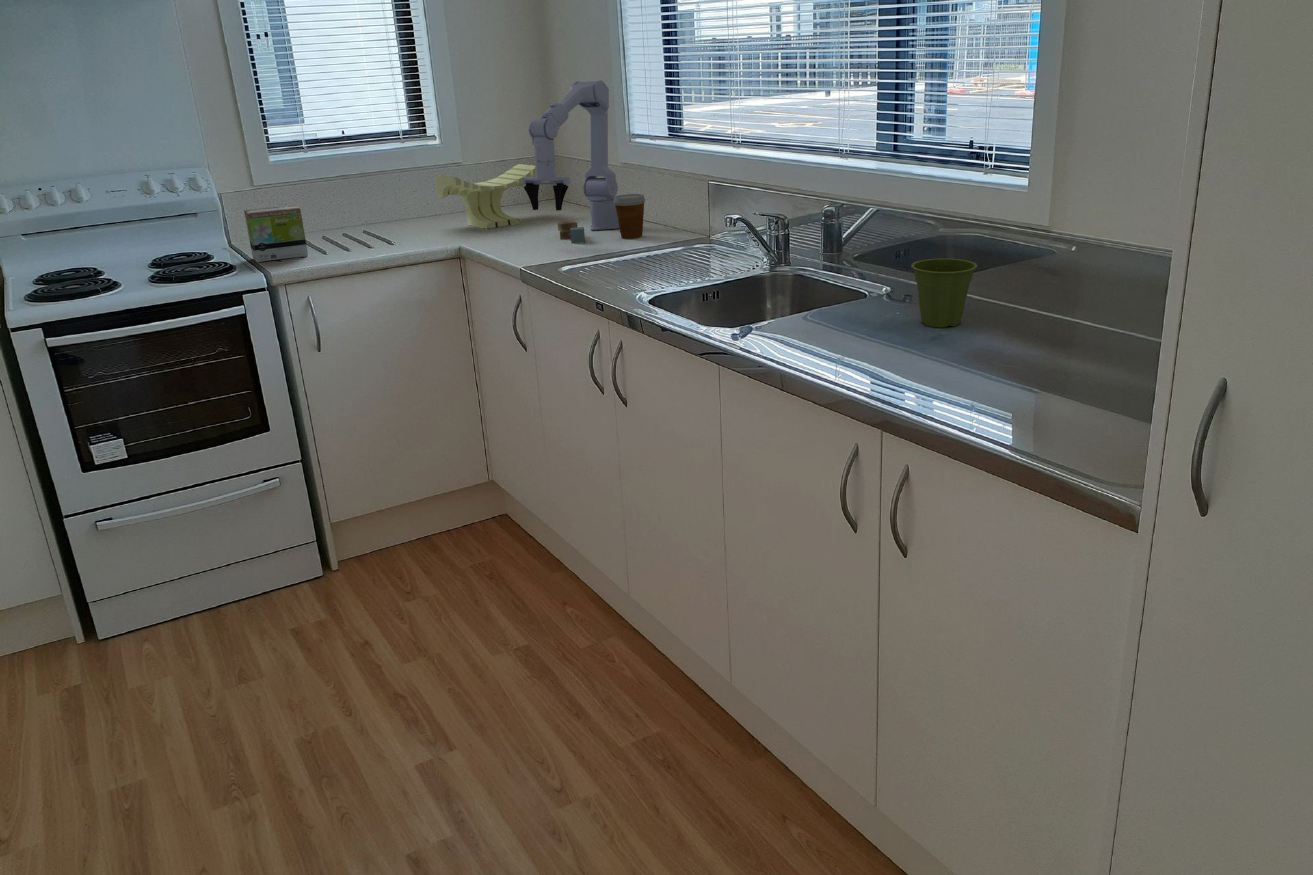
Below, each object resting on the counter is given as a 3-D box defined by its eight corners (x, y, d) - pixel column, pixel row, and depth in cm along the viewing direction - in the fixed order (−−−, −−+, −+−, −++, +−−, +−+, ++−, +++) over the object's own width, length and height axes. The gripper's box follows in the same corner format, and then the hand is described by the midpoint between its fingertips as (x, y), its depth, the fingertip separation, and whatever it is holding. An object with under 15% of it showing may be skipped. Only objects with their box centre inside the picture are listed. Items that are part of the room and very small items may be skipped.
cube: (585, 240, 302) (583, 226, 301) (585, 242, 299) (583, 229, 297) (571, 241, 302) (570, 227, 301) (571, 243, 298) (570, 230, 297)
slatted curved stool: (520, 215, 357) (514, 163, 350) (542, 219, 344) (537, 166, 338) (441, 228, 341) (434, 174, 335) (462, 233, 329) (454, 176, 322)
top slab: (573, 228, 311) (573, 220, 310) (577, 230, 306) (577, 222, 305) (558, 230, 309) (557, 221, 308) (561, 232, 305) (560, 224, 304)
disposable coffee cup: (610, 240, 300) (607, 198, 295) (623, 234, 308) (620, 193, 303) (640, 240, 296) (637, 198, 292) (652, 234, 304) (650, 193, 300)
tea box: (257, 263, 299) (246, 213, 294) (252, 258, 308) (242, 209, 302) (309, 256, 305) (300, 206, 300) (303, 251, 314) (294, 203, 308)
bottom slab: (576, 236, 311) (576, 228, 310) (576, 239, 307) (576, 231, 306) (560, 237, 311) (559, 229, 310) (560, 240, 306) (559, 232, 305)
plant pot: (911, 332, 188) (913, 272, 184) (907, 316, 199) (909, 259, 195) (977, 331, 186) (981, 270, 182) (970, 315, 197) (973, 257, 193)
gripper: (515, 162, 291) (518, 210, 295) (560, 162, 285) (562, 211, 289) (527, 161, 297) (530, 209, 301) (572, 161, 292) (574, 209, 295)
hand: (547, 210), depth 295 cm, fingers open, 7 cm apart
